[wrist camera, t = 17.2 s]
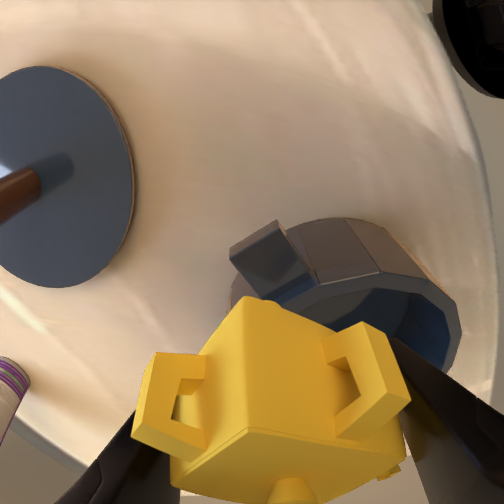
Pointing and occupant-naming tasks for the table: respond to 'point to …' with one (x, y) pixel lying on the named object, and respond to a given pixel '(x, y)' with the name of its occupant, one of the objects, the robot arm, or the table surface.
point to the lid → (60, 178)
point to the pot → (349, 282)
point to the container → (10, 392)
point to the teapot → (276, 409)
